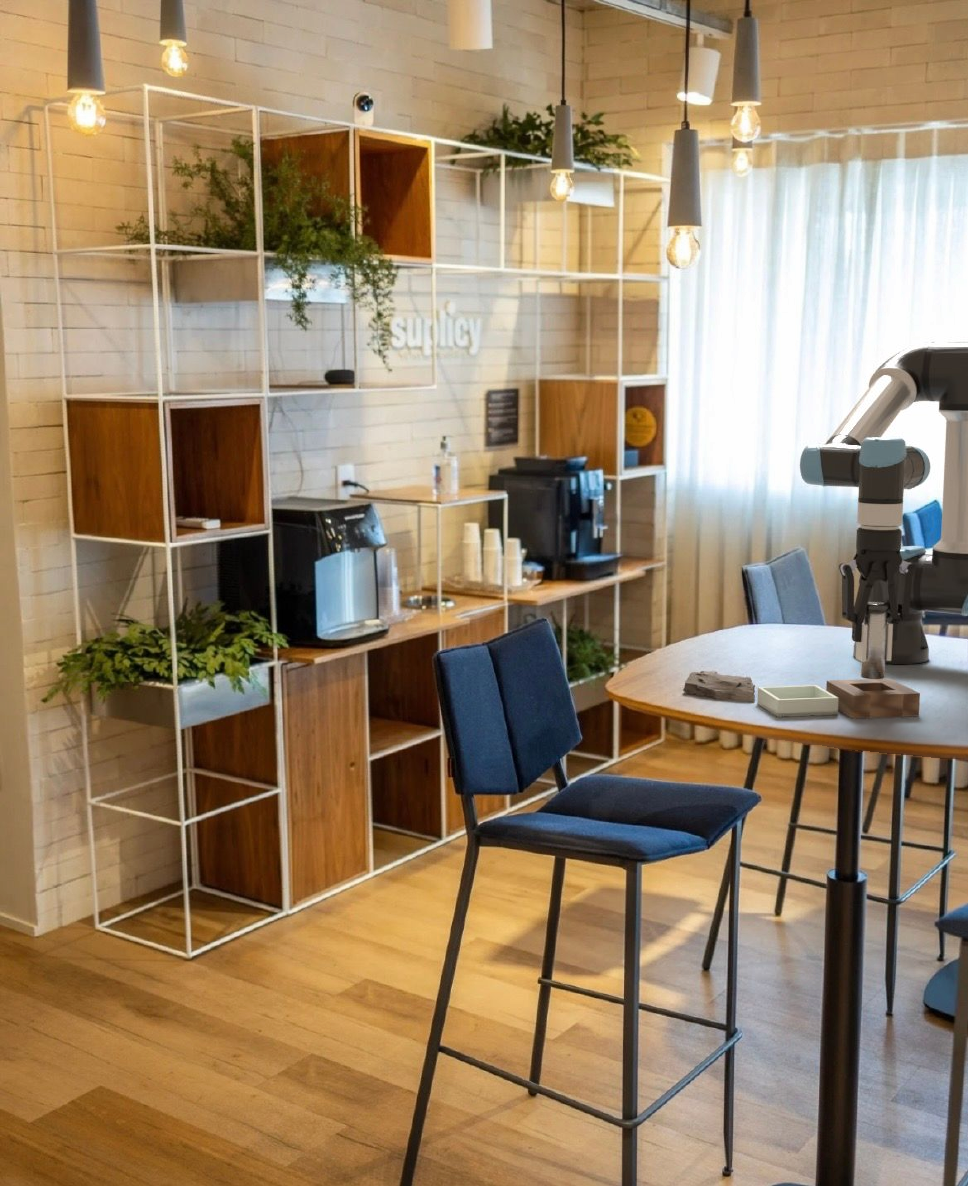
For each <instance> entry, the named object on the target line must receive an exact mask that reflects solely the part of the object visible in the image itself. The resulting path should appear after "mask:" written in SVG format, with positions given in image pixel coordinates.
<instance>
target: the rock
mask: <svg viewBox="0 0 968 1186" xmlns="http://www.w3.org/2000/svg"><path fill="white" fill-rule="evenodd" d="M755 688H756V685H755V684H754V683H753V680H752V678H751V677H750V676H740V675H739V676H737V675H729V674H721V673H720V674H719V673H718V672H717V671H715V670H711V671H709V670H708V671H707V670H701V671H699V672H698V671H694V672H690V673H689V676H687V678H686V680H685V681H684V687H683V689H682V690H683V692H684V693H685V694H686V695H694V696H699V697H704V698H705V697H706V698H709V699H711V698H714V699H716V700H717V701H737V702H749V703H751V702H753V703H754V702H755V701H756V699H755V698H756V695H755V693H756V691H755V690H756V689H755Z"/></svg>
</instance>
